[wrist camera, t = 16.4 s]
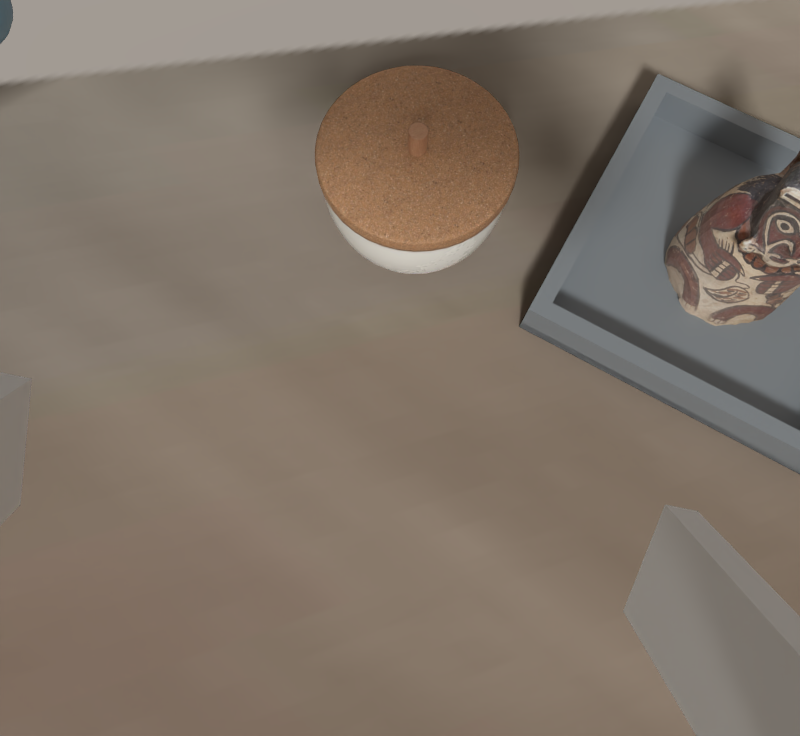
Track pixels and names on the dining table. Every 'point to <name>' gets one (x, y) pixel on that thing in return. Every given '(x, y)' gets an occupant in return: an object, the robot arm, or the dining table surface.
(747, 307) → the figurine
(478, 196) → the lidded jar
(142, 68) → the dining table surface
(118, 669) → the dining table surface
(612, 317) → the tray
